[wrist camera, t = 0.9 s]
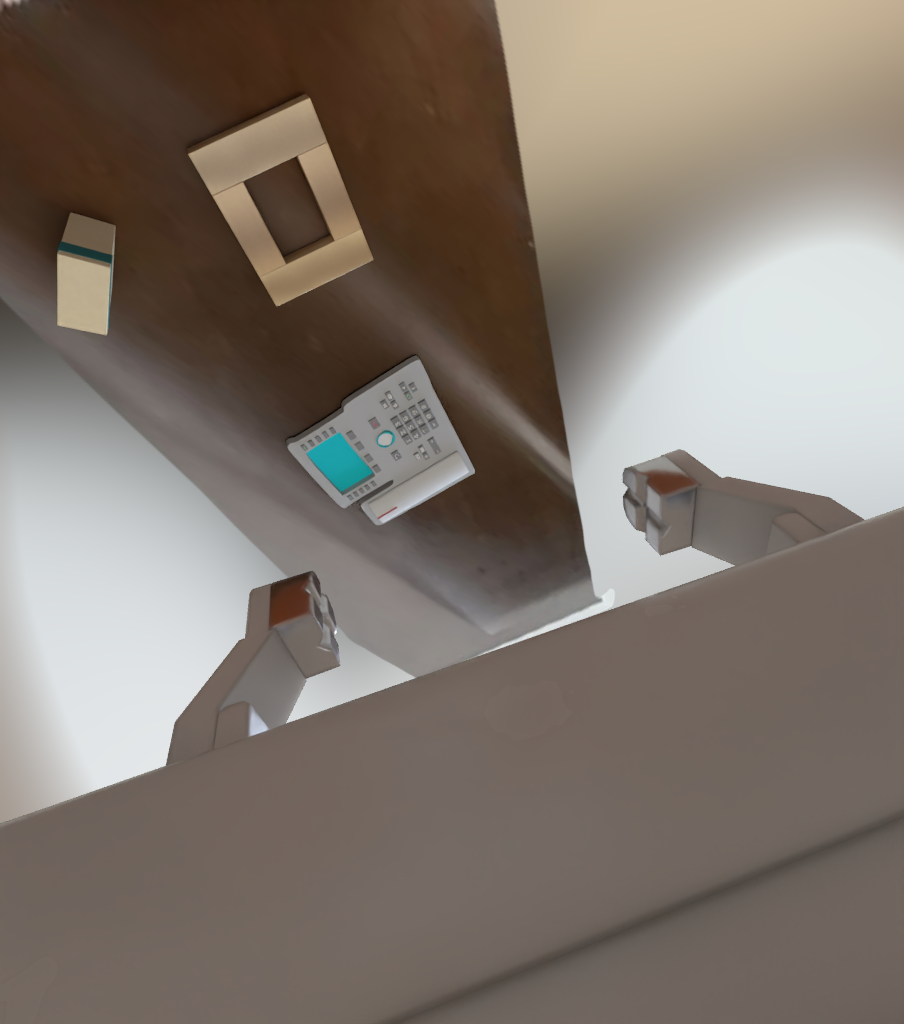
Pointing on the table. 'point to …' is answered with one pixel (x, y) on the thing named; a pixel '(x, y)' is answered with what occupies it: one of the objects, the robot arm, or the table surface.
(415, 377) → the office telephone
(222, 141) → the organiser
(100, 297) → the box
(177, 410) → the table surface
